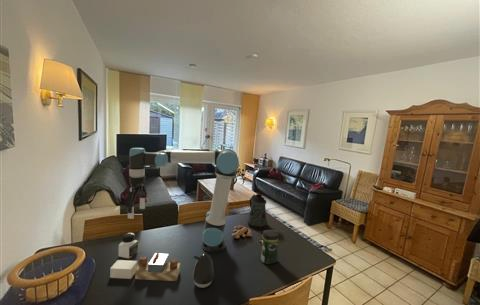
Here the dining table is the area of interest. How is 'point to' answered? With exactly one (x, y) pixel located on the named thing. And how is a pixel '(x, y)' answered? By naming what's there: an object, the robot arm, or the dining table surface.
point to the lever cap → (158, 262)
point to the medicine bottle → (128, 246)
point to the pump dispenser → (203, 271)
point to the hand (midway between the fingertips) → (136, 213)
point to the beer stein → (257, 212)
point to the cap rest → (123, 269)
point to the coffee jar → (269, 246)
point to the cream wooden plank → (168, 274)
